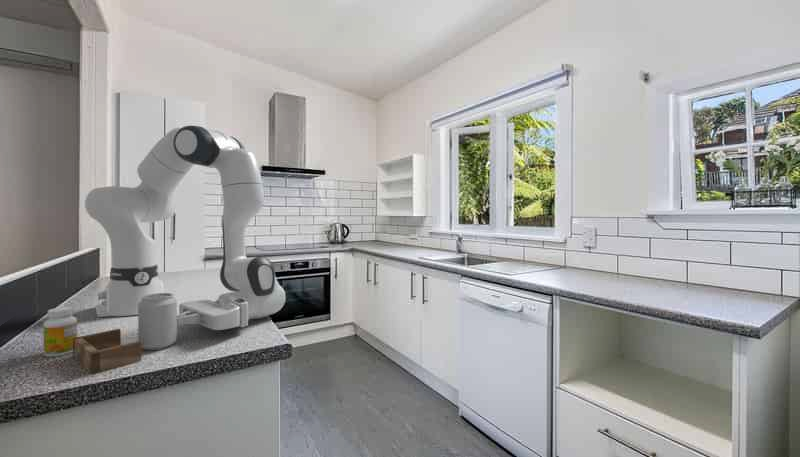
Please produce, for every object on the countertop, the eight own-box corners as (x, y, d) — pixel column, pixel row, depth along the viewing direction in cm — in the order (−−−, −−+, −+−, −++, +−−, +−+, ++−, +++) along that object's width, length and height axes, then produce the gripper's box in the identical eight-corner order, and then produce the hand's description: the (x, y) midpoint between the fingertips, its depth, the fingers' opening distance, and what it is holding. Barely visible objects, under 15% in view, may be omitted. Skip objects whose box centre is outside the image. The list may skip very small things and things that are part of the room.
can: (159, 352, 78) (158, 299, 77) (129, 350, 79) (129, 298, 79) (184, 341, 85) (184, 292, 85) (157, 339, 86) (156, 291, 86)
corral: (73, 356, 75) (72, 338, 75) (118, 345, 82) (118, 328, 82) (92, 374, 67) (91, 353, 67) (141, 360, 74) (141, 341, 74)
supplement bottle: (36, 356, 75) (35, 311, 75) (64, 347, 81) (63, 305, 80) (58, 358, 75) (57, 313, 74) (84, 348, 80) (83, 306, 79)
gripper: (211, 292, 102) (157, 301, 91) (250, 303, 90) (194, 315, 79) (211, 313, 102) (157, 325, 91) (251, 327, 91) (194, 342, 79)
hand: (175, 320), depth 85 cm, fingers closed, pressing on can
